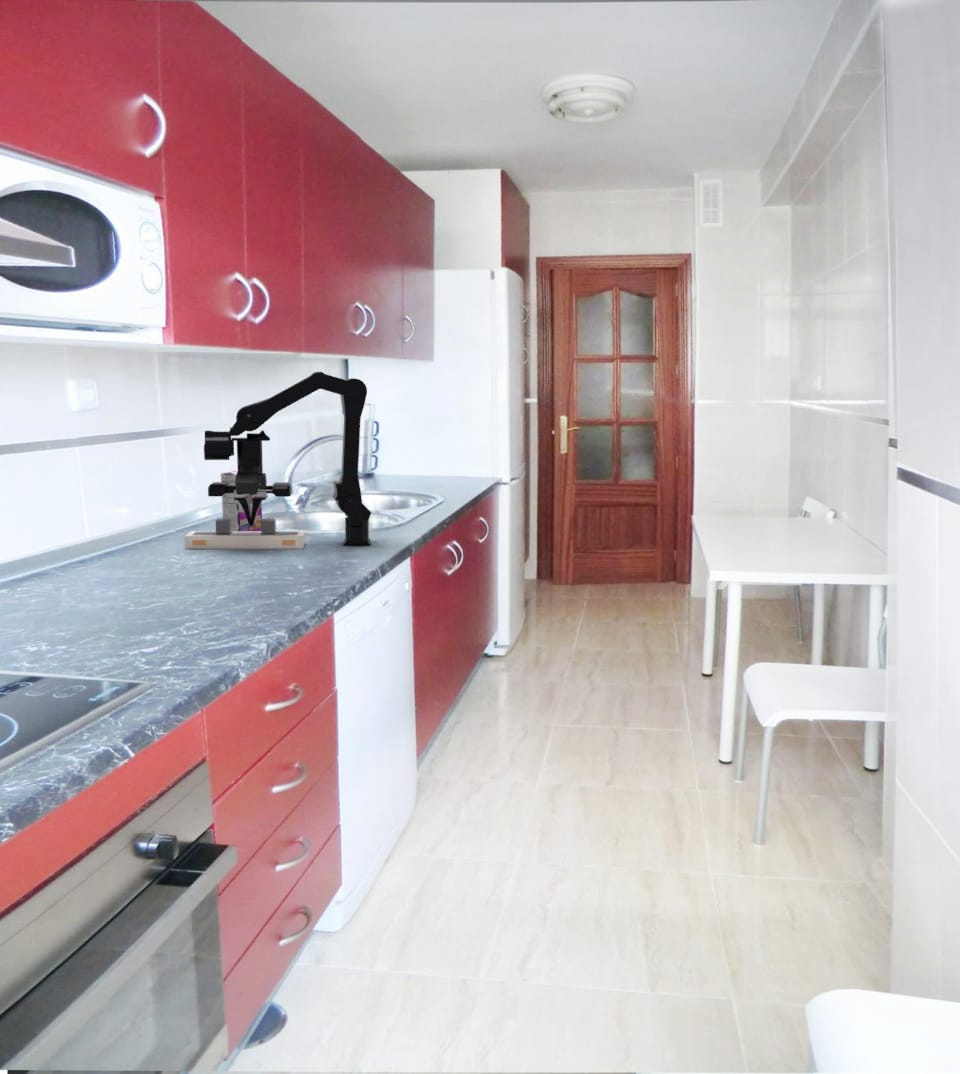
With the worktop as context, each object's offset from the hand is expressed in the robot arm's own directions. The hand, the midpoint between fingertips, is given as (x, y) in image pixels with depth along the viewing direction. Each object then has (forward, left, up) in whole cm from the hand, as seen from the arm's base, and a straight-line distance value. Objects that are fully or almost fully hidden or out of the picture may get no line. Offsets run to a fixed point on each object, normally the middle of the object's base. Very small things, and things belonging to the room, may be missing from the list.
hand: (251, 525), depth 220 cm
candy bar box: (-15, -4, -5) cm, 17 cm away
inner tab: (0, +4, -2) cm, 4 cm away
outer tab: (0, -7, -2) cm, 7 cm away
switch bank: (0, -1, -5) cm, 5 cm away
